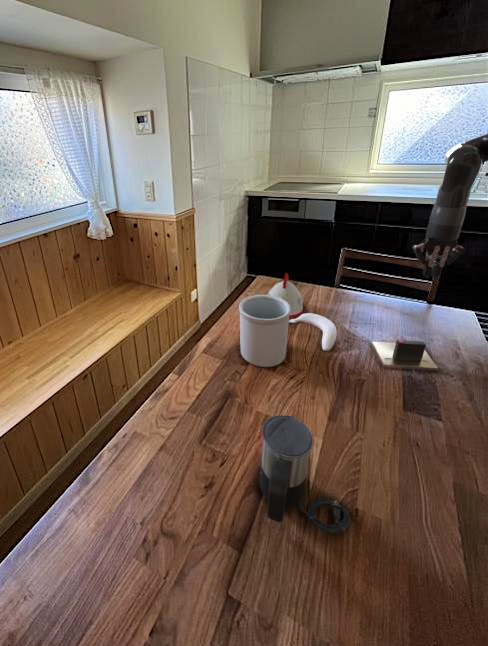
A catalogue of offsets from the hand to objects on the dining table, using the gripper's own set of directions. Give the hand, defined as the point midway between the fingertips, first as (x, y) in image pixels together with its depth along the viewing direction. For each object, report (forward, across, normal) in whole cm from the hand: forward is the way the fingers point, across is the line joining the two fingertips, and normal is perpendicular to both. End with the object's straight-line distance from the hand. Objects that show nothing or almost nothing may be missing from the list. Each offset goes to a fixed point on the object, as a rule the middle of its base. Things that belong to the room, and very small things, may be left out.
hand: (430, 276), depth 101 cm
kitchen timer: (+22, -40, +14) cm, 48 cm away
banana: (+22, -32, -2) cm, 39 cm away
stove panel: (+22, -8, -13) cm, 27 cm away
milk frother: (+22, -43, -58) cm, 76 cm away
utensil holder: (+22, -49, -14) cm, 56 cm away
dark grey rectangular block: (+20, -8, -14) cm, 26 cm away
